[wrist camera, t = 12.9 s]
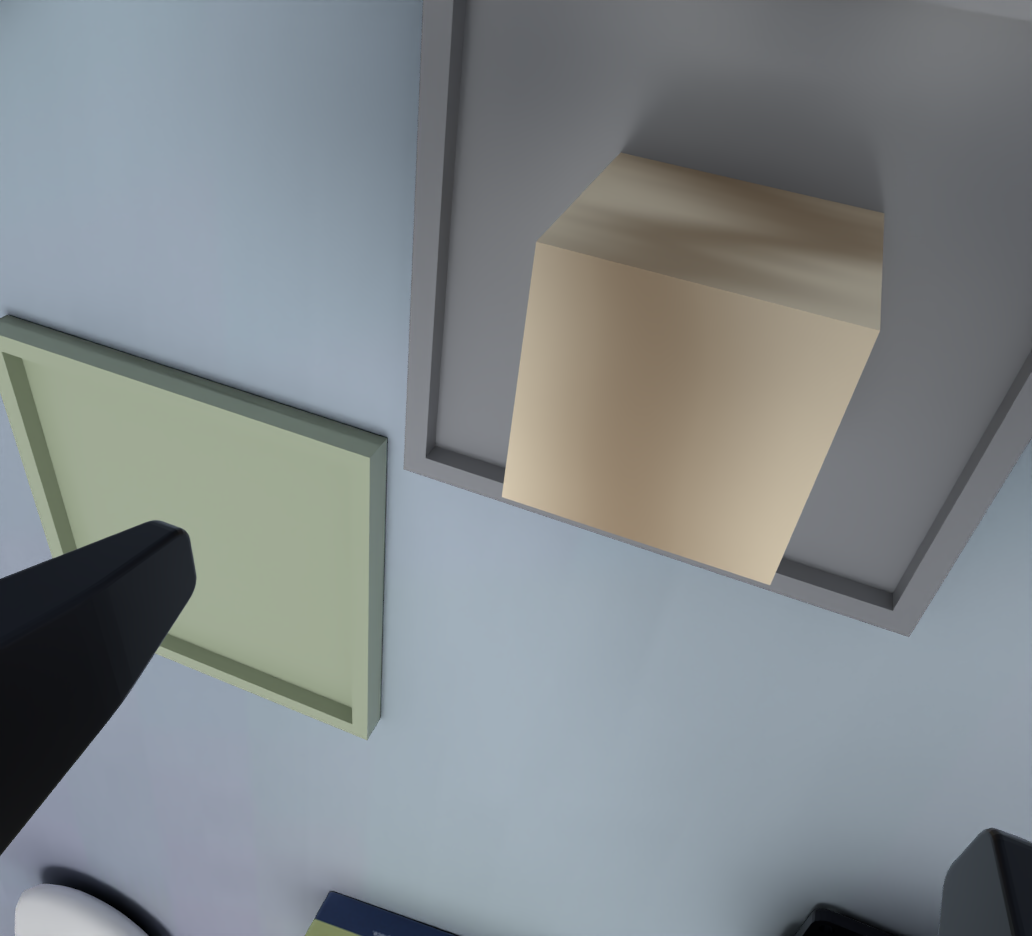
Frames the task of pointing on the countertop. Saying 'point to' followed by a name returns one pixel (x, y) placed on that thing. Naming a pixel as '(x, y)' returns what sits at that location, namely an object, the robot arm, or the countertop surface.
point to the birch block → (691, 359)
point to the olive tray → (217, 512)
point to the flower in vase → (68, 914)
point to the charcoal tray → (765, 161)
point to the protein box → (363, 920)
